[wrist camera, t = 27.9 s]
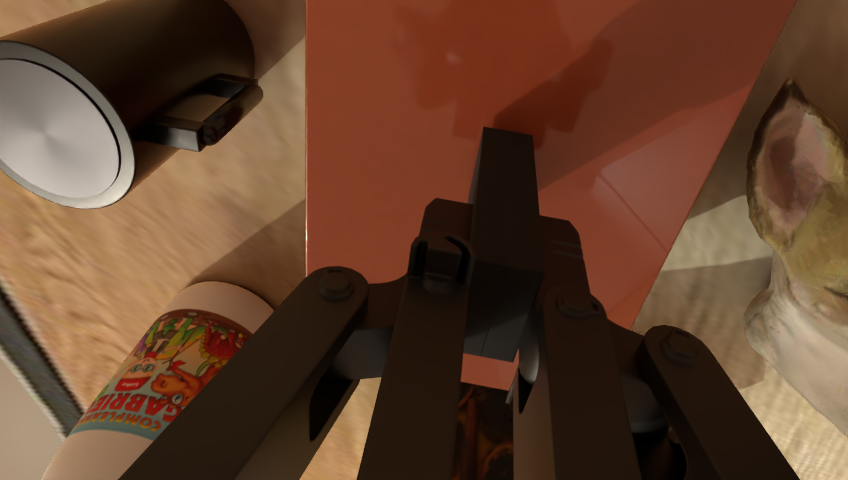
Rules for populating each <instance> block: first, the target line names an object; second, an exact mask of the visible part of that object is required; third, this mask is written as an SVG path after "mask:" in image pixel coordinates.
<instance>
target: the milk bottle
mask: <svg viewBox="0 0 848 480" xmlns="http://www.w3.org/2000/svg"><path fill="white" fill-rule="evenodd" d="M273 312H274V310H273V309H272V308H271V307H270V306H269V305H268V304H267V303H266V302H265V301H264V300H262V299H261V298H260V297H259V296H257V295H255V294H253V293H252V292H250V291H248V290H246V289H244V288H241V287H239V286H236V285H232V284H229V283H225V282H216V281H211V282H201V283H196V284H194V285H191V286H189V287H187V288H185V289H183V290H181V291H180V292H179V293H178V294H177V295H176V296H175V297H174V298H173V299H172V301H171V302H170V303H169V304H168V305H167V307H166V308H165V309H164V311H163V312H162V313H161V314H160V316H159V317H158V318H157V320H156V321H155V322H154V323H153V325H152V326H151V327H150V328H149V330H148V331H147V332H146V334H145V335H144V336H143V338H142V339H141V340H140V341H139V343H138V344H137V345H136V347H135V348H134V349H133V350H132V352H131V353H130V354H129V356H128V357H127V358H126V360H125V361H124V362H123V363H122V365H121V366H120V367H119V369H118V370H117V371H116V373H115V374H114V375H113V376H112V378H111V379H110V380H109V382H108V383H107V384H106V386H105V387H104V388H103V390H102V391H101V392H100V394H99V395H98V396H97V398H96V399H95V400H94V401H93V403H92V404H91V405H90V407H89V408H88V409H87V411H86V412H85V413H84V415H83V416H82V417H81V419H80V420H79V422H78V423H77V424H76V426H75V427H74V429H73V430H72V431H71V433H70V434H69V436H68V437H67V438H66V440H65V441H64V443H63V444H62V445H61V447H60V448H59V450H58V451H57V453H56V454H55V456H54V458H53V459H52V461H51V462H50V464H49V466H48V468H47V469H46V471H45V473H44V475H43V477H42V480H118V479H119V478H120V477H121V476H122V474H123V473H124V472H125V471H126V470H127V469H128V468H129V467H130V466H131V465H132V464H133V463H134V462H135V460H136V459H137V458H138V457H139V456H140V455H141V454H142V453H143V452H144V451H145V450H146V449H147V448H148V447H149V445H150V444H151V443H152V442H153V441H154V440H155V439H156V438H157V437H158V436H159V435H160V434H161V433H162V431H163V430H164V429H165V428H166V427H167V426H168V425H169V424H170V423H171V422H172V421H173V420H174V419H175V417H176V416H177V415H178V414H179V413H180V412H181V411H182V410H183V409H184V408H185V407H186V406H187V405H188V403H189V402H190V401H191V400H192V399H193V398H194V397H195V396H196V395H197V394H198V393H199V392H200V391H201V390H202V388H203V387H204V386H205V385H206V384H207V383H208V382H209V381H210V380H211V379H212V378H213V377H214V376H215V374H216V373H217V372H218V371H219V370H220V369H221V368H222V367H223V366H224V365H225V364H226V363H227V362H228V360H229V359H230V358H231V357H232V356H233V355H234V354H235V353H236V352H237V351H238V350H239V349H240V348H241V347H242V345H243V344H244V343H245V342H246V341H247V340H248V339H249V338H250V337H251V336H252V335H253V334H254V333H255V331H256V330H257V329H258V328H259V327H260V326H261V325H262V324H263V323H264V322H265V321H266V320H267V319H268V317H269V316H270V315H271V314H272V313H273Z"/></svg>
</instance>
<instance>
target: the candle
mask: <svg viewBox="0 0 848 480" xmlns="http://www.w3.org/2000/svg"><path fill="white" fill-rule="evenodd" d="M508 392H509V391H506V390H501V389H496V388H491V387H486V386H480V385H475V384H470V383H465V382H461V384H460V395H459V406H458V418H457V429H456V440H455V451H454V462H453V473H452V480H514V443H513V398H512V401H511V403H510V404H508V403H506V399H507V395H508Z"/></svg>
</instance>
